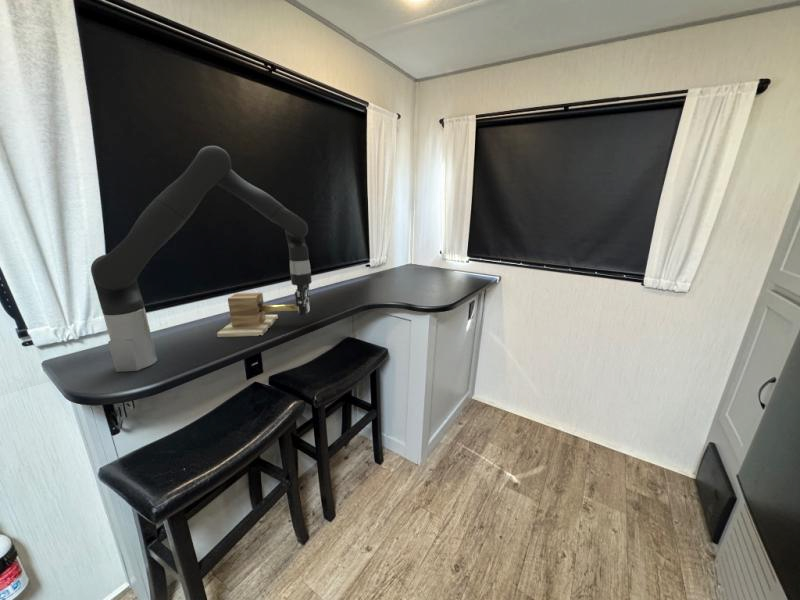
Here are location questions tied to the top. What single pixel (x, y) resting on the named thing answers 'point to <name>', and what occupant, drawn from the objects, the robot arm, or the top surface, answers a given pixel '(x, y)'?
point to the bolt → (283, 307)
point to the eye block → (247, 316)
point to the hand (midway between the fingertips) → (304, 312)
